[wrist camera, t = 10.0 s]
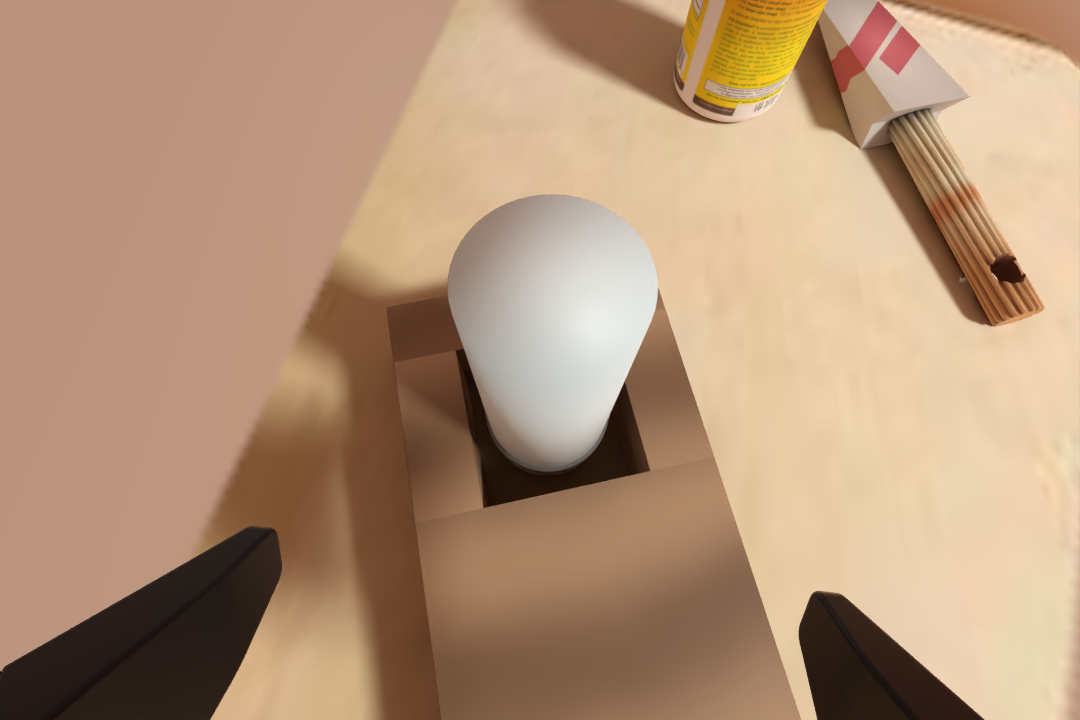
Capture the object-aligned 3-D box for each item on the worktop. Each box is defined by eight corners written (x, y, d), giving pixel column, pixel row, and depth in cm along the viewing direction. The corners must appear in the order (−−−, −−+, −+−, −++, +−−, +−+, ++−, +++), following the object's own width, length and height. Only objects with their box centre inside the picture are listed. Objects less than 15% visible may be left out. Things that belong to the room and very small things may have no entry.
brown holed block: (782, 780, 18) (836, 826, 15) (482, 862, 17) (469, 930, 14) (633, 299, 24) (648, 257, 21) (407, 344, 24) (386, 307, 20)
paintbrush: (882, -53, 28) (1087, 296, 22) (852, -3, 31) (1028, 321, 25) (811, -42, 28) (1001, 315, 22) (787, 8, 30) (950, 339, 24)
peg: (610, 473, 22) (692, 360, 10) (504, 497, 21) (461, 408, 10) (584, 374, 23) (629, 174, 11) (485, 395, 23) (427, 211, 11)
